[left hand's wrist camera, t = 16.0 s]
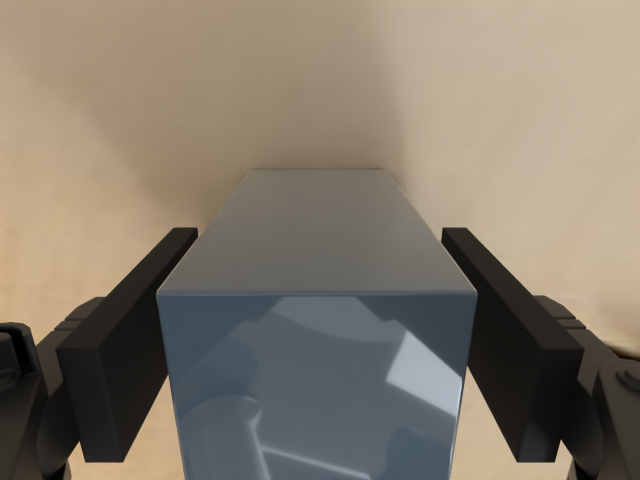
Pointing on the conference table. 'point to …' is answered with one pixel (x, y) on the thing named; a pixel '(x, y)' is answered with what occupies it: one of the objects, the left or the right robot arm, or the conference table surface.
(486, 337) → the left robot arm
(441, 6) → the conference table surface
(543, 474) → the conference table surface
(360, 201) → the block
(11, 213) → the conference table surface
